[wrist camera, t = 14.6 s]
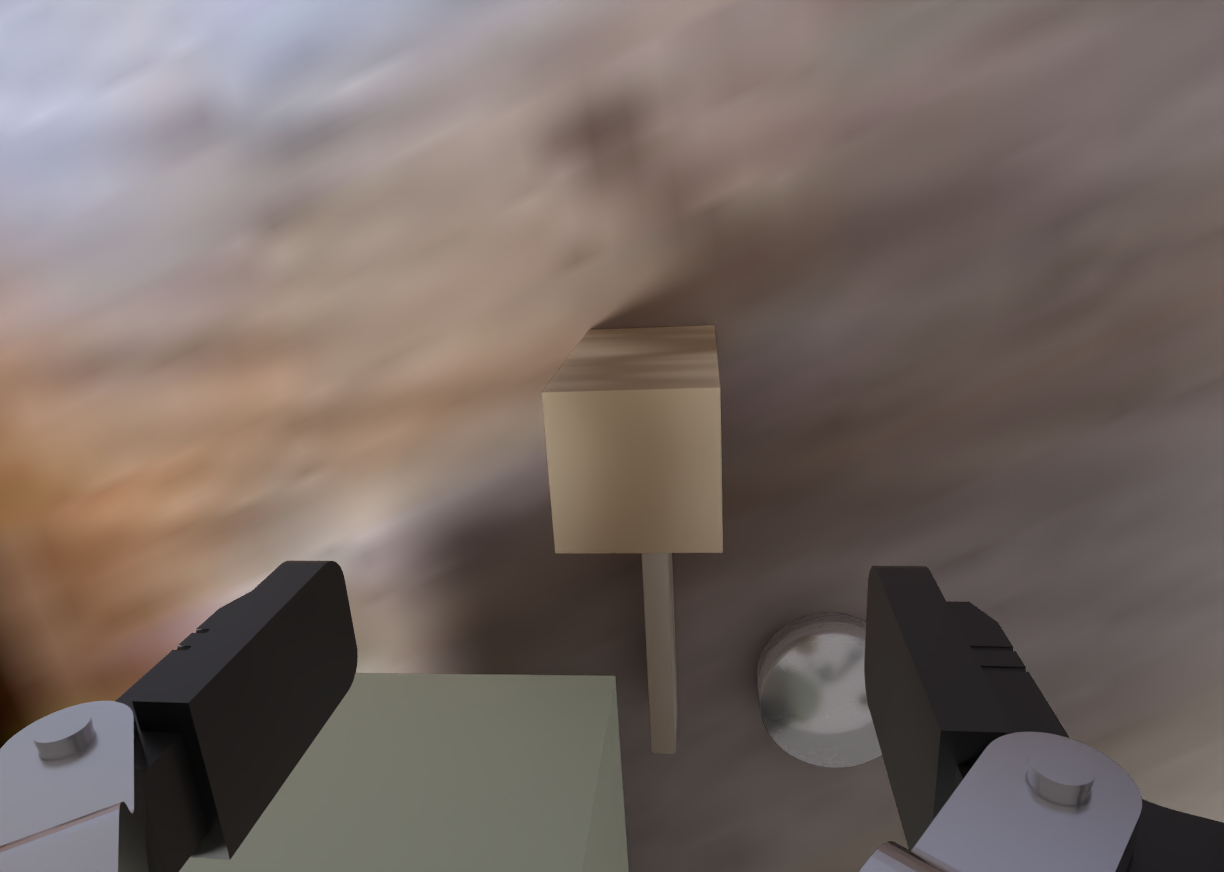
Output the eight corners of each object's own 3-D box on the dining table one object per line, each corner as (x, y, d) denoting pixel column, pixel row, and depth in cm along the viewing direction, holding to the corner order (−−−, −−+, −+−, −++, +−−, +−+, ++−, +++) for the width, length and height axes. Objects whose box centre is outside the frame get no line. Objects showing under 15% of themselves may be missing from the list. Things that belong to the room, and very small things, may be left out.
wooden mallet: (714, 324, 25) (720, 387, 17) (721, 703, 29) (727, 885, 22) (588, 329, 25) (541, 392, 18) (613, 701, 30) (583, 879, 22)
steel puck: (904, 611, 28) (918, 643, 26) (893, 732, 29) (907, 770, 27) (757, 608, 28) (762, 639, 26) (755, 727, 30) (759, 764, 28)
